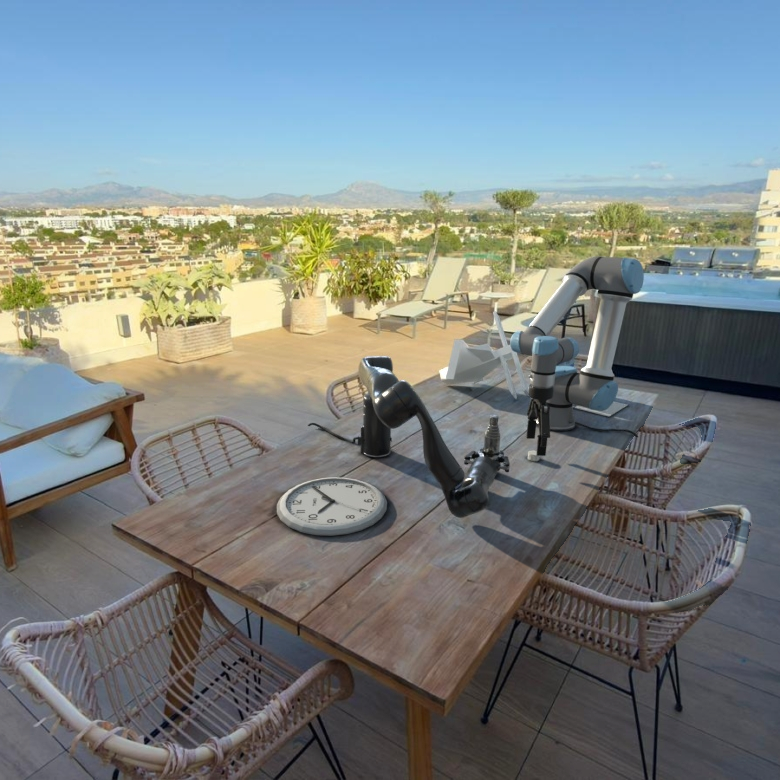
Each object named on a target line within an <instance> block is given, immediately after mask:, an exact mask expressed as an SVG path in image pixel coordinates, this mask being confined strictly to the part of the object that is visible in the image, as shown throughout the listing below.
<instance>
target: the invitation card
mask: <svg viewBox="0 0 780 780" xmlns="http://www.w3.org/2000/svg"><path fill="white" fill-rule="evenodd" d="M628 406H629V404H627V403H623V402H618V401H614V402H613V403H612V404H611V406H610V407H609V408H608V409H606V410H604V411H598V410H591V409H589V408H586V407H583V406H579V405H575V406H574V407H573V409H575V410H581V411H584V412H587V413H593V414H596V415H600V416H604V417H608V418H609V417H611V416H613V415H614V414H616V413H617V412H619V411H621V410H623V409H624V408H626V407H628Z"/></svg>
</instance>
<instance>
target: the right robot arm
mask: <svg viewBox="0 0 780 780" xmlns="http://www.w3.org/2000/svg"><path fill="white" fill-rule="evenodd" d="M644 274H645V273H644V268H643V265H642V262H640V260H638V259H636V258H631V257H617V256H600V255H599V256H598V255H597V256H591V257H589V258H586V259H584V260H582V261H580V262H579V263H577V264H575V265H574V266H573V267H571V268H570V270H568V271H567V273H566V274H565V275H564V276H563V277H562V279H561V285H560V286H559V287H558V289H556V290H555V292H554V293H553V295H552V296H551V297H550V298H549V300H547V302H546V303H545V305H544V306H543V307H542V308H541V310H540V311H539V312H538V314H537V315H536V316H535V317H534V319H533V320H532V321H531V322H530V324H529V325H528V326H527V328H526V329H525V330H524V331H523V330H516V331H515V332H514V333H513V334H512V335H511V337H510V340H509V345H510V346H511V349H512V350H513V351H514V352H517V354H519V355H525V356H530V357H531V364H530V365H531V366H530V374H529V375H528V378H529V385H528V390H529V396H528V397H530V399H529V403H528V407H527V411H526V416H527V425H526V426H527V427H526V437H525V438H526V439H527V440H533V439H536V436H537V443H536V444H537V445H536V451H537V454H536V455H537V456H540V457H545V456H547V446H548V439H550V438H551V431H556V432H567V431H572V430H574V429H575V428H576V425H577V426H581V427H583V428H586V429H589V430H592V431H597V432H624V433H629V434H632V435H633V436H634V437H635V438H639V436H638V434H637V433H635V432H634V431H632V430H629V429H622V428H605V429H604V428H597V427H592V426H589V425H586V424H584V423H581V422H577V421H576V418H575V417H576V416H575V413H574V407H573V405H575V406H578V405H579V406H583V407H586V408H589V409H591V410H598V411H604V410H606V409H608V408H609V407H610V406H611V404H612V403H613V402H615V400H616V398H617V395H618V391H619V384H618V382H616V381H615V380H614V379H615V374H614V373H613V370H612V367H613V363H614V360H615V354H616V352H617V351H616V350H617V346H618V343H619V342H618V341H619V338H620V333H621V330H622V324H623V321H624V316H625V311H626V307H627V304H628V303H629V302H630V301H631V300H633V298H634V295H636V294H638V293H640V292H641V289H642V288H643V284H644V278H645V275H644ZM590 290H596V291H597V296H598V298H599V300H600V301H599V306H598V310H597V315H596V320H595V324H594V329H593V333H592V337H591V342H590V347H589V351H588V354H587V361H586V364H585V366H583V367H582V368H581V369H580V371H579V372H578V368H577V367H576V366H574V367H572V366H556V364H559V363H563V362H567V361H570V360H571V359H574V360H575V359H576V357H577V356H578V355H579V353H580V345H579V343H578V341H577V340H576V339H574V337H573V338H572V337H562V338H561V337H560V338H558V337H555V336H550V335H551V334H552V332H553V331H554V330H555V328H556V327H557V326H558V325H559V323H560V322H561V321H562V319H563V318H564V317H565V316H566V315H567V313H568V312H569V310H570V309H571V308H572V307H573V305H574V304H575V303H576V301H577V300H578V299H579V297H581V296H584V295H585V294H586V293H587V291H590ZM530 384H531V385H530ZM537 427H538V434H537V435H536V430H537Z"/></svg>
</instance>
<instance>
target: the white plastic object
mask: <svg viewBox="0 0 780 780" xmlns="http://www.w3.org/2000/svg"><path fill="white" fill-rule="evenodd" d="M492 315H493V319H494V321H495V324H496V325H495V326H496V328H497V332H498V335H499V338H500V342H501V345H502V347H500V348H498V349H496V350H495V349H493V348H492V347H491V346H490V344H489V343H488V342H487V343H483V344H479V345H473V346H469V345H468V343H466V342H465V340H464V339H463V338H460V339H458V338H454V340H453V344H452V349H451V353H450V357H449V362H448V366H446V367H444V368H442V369H440V370H439V371H438V372H439V376H440V381H442V383H443V384H444V385H445V386H449V385H458V384H467V383H468V384H469V383H473V384H477V383H480V382H482V381H484V378H485V377H486V376H487V375H489V374H490V373H492V372H494V371H495V370H496V369H497V368H499V367H500V366H502V370H503V373H504V376H505V380H506V383H507V386H508V390H509V393H510V394H511V395H512V397H513V398H514V399H515V400H517V392H516V391H517V390H516V388H515V385H514V381H513V378H512V375H511V371H510V369H509V365H508V361H510V360H513V363H514V366H515V369H516V372H517V376H518V380H519V382H520V385H521V389H522V391H523V393H524V395H525V396H526V397H530V396H529V386H528V384H527V381H526V378H525V375H524V371H523V369H522V368H523V367H522V366H521V362H520V359H519V355H518V353H517V352H514V351H513V350H512V349H511V346H510V344H508V341H507V337H506V334H505V331H504V328H503V325H502V321H501V318H500V315H499V314H498V312H497V311H496V310H495V311H492Z"/></svg>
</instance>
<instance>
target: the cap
mask: <svg viewBox="0 0 780 780" xmlns="http://www.w3.org/2000/svg"><path fill="white" fill-rule="evenodd" d="M536 454H537V450H533V449H531V450H529V451H527V460H528V461H531V462H538V461H539V462H540V459H541V456H537V455H536Z"/></svg>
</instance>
